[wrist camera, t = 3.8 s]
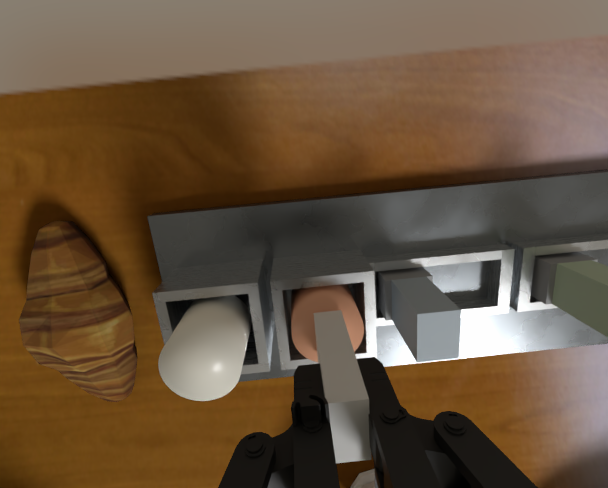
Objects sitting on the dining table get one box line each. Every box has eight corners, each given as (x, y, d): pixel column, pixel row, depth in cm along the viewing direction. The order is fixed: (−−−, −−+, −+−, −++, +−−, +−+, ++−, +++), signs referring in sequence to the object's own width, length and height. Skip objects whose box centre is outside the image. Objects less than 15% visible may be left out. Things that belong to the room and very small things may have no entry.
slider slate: (378, 307, 23) (409, 363, 17) (377, 270, 22) (409, 315, 17) (421, 303, 23) (466, 357, 17) (421, 265, 22) (469, 309, 17)
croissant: (15, 225, 22) (-61, 247, 17) (115, 208, 22) (67, 226, 17) (85, 392, 26) (39, 448, 21) (171, 378, 26) (144, 431, 21)
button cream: (192, 352, 21) (167, 404, 17) (180, 294, 20) (150, 335, 16) (255, 345, 21) (246, 396, 17) (246, 287, 20) (235, 327, 16)
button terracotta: (294, 325, 23) (295, 366, 19) (288, 271, 22) (288, 302, 18) (351, 319, 23) (365, 359, 19) (348, 266, 22) (362, 295, 18)
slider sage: (526, 292, 23) (607, 342, 17) (530, 255, 23) (617, 294, 17) (568, 288, 23) (663, 336, 18) (574, 250, 23) (675, 287, 17)
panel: (190, 378, 26) (167, 431, 21) (153, 213, 22) (115, 231, 17) (621, 333, 26) (695, 375, 21) (656, 164, 23) (755, 169, 18)
